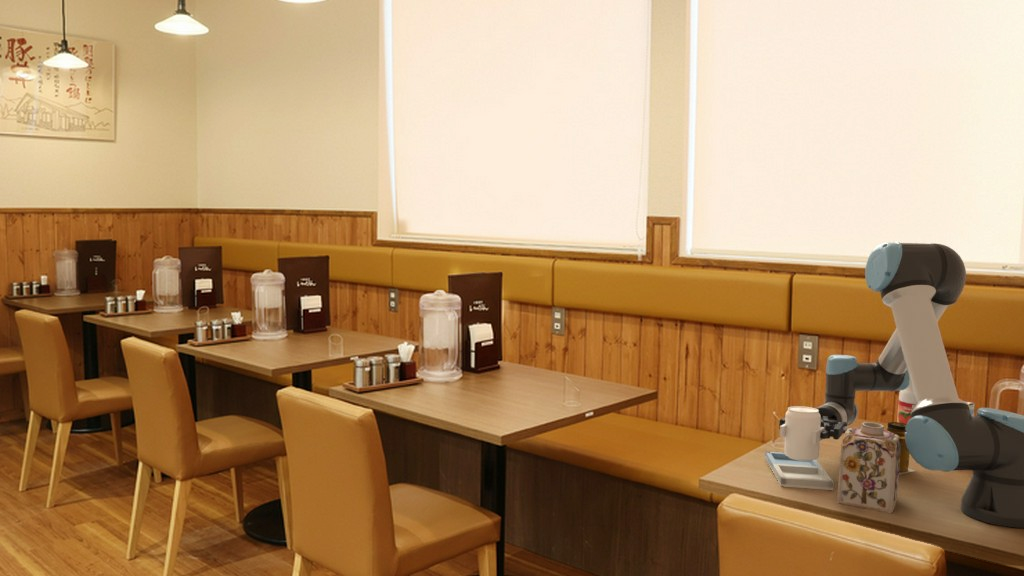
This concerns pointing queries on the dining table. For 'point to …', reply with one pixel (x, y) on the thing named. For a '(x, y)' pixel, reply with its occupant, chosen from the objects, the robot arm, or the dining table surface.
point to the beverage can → (801, 433)
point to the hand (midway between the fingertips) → (797, 434)
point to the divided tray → (798, 472)
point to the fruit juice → (905, 404)
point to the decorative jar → (869, 468)
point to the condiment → (904, 453)
